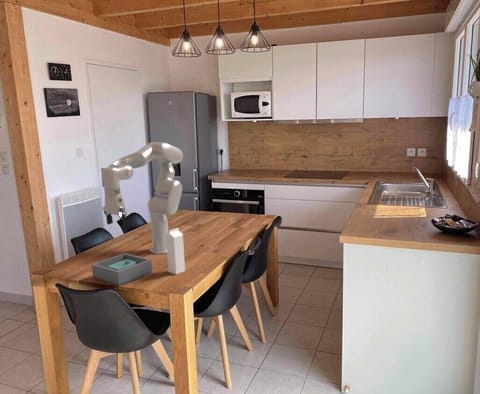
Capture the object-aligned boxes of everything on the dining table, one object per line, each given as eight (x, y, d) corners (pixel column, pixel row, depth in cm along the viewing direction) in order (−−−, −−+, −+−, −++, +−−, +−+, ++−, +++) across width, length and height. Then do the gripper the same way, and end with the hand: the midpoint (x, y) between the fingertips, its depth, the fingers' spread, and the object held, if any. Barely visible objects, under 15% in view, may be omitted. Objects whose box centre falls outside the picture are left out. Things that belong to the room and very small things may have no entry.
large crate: (126, 265, 221) (125, 253, 219) (152, 273, 209) (151, 259, 208) (93, 278, 205) (91, 264, 204) (119, 286, 193) (118, 272, 192)
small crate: (127, 268, 213) (126, 259, 212) (136, 271, 209) (135, 261, 208) (109, 275, 204) (108, 266, 204) (118, 278, 200) (117, 268, 199)
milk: (185, 271, 210) (182, 228, 206) (176, 274, 206) (173, 231, 202) (176, 268, 214) (174, 226, 210) (167, 272, 210) (165, 229, 206)
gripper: (130, 191, 208) (133, 225, 211) (107, 189, 217) (111, 221, 221) (118, 194, 202) (122, 228, 205) (95, 192, 211) (99, 224, 215)
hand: (116, 224), depth 213 cm, fingers open, 9 cm apart
